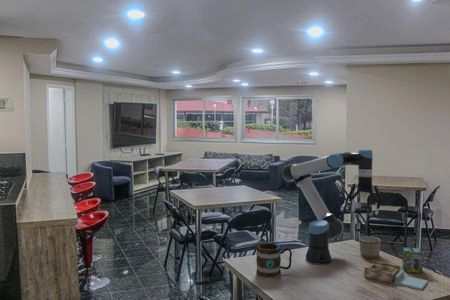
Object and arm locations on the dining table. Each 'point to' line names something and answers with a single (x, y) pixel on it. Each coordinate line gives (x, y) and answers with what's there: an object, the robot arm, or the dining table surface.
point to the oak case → (382, 271)
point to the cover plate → (409, 281)
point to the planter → (369, 246)
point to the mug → (270, 260)
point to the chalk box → (412, 260)
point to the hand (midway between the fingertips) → (364, 212)
